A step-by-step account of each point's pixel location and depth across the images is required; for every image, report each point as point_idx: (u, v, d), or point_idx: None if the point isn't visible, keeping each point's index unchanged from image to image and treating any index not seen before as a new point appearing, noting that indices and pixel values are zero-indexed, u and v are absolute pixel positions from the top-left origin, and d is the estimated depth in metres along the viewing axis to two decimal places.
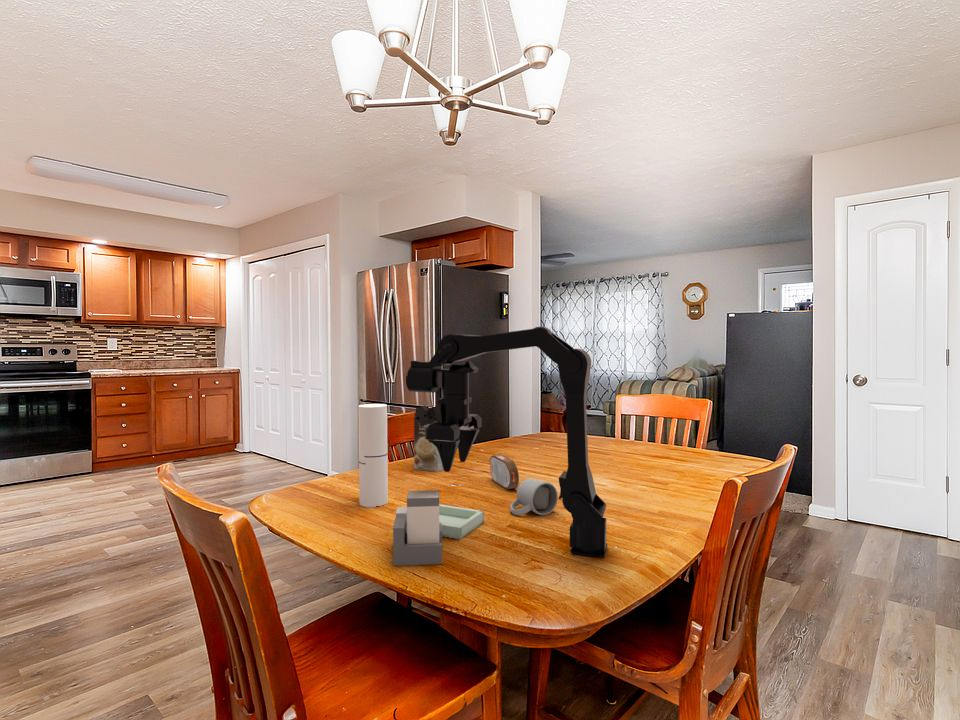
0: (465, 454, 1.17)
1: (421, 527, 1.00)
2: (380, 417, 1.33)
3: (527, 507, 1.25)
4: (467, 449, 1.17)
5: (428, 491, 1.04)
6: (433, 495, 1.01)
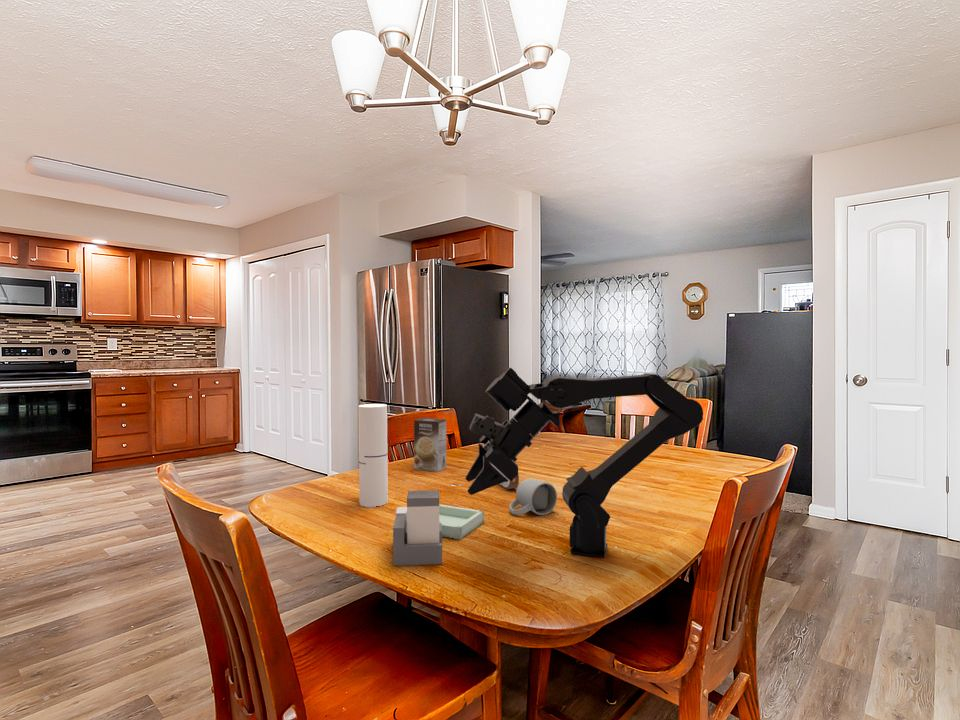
0: (475, 476, 1.08)
1: (421, 527, 1.00)
2: (380, 417, 1.33)
3: (526, 507, 1.25)
4: None
5: (428, 491, 1.04)
6: (433, 495, 1.01)
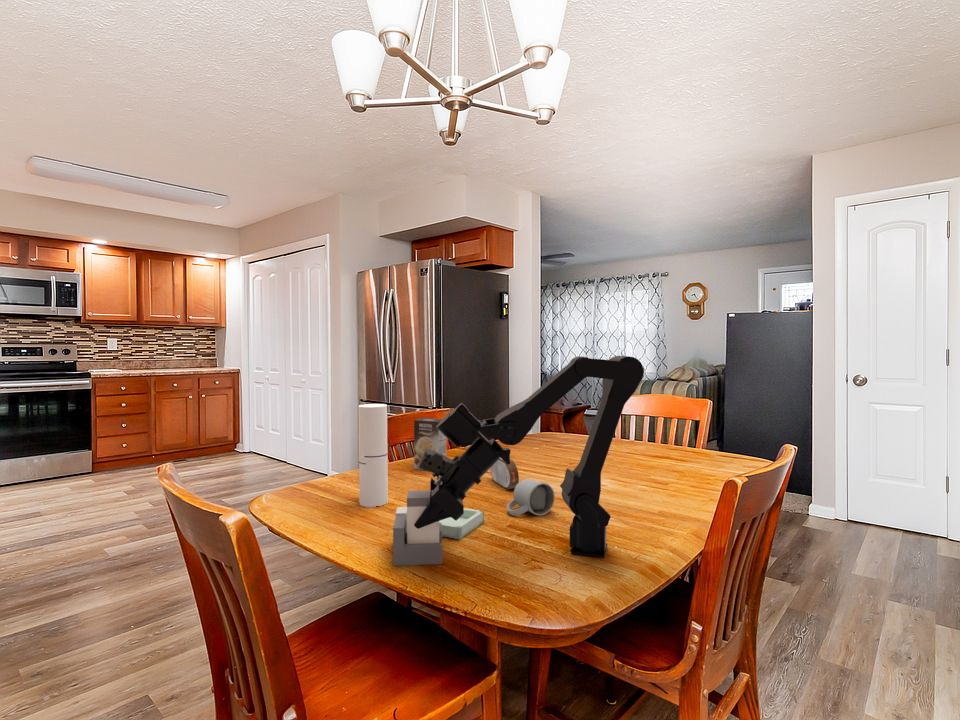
0: None
1: None
2: (380, 417, 1.33)
3: (524, 508, 1.25)
4: None
5: (428, 491, 1.04)
6: None
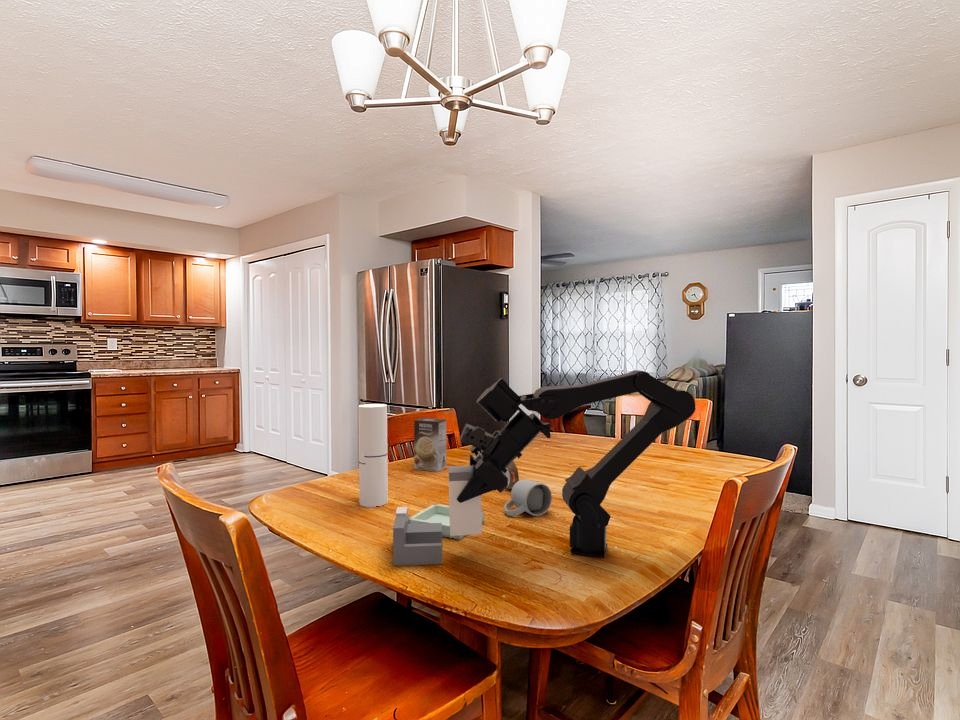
0: None
1: None
2: (380, 417, 1.33)
3: (521, 508, 1.25)
4: None
5: (468, 466, 1.04)
6: None
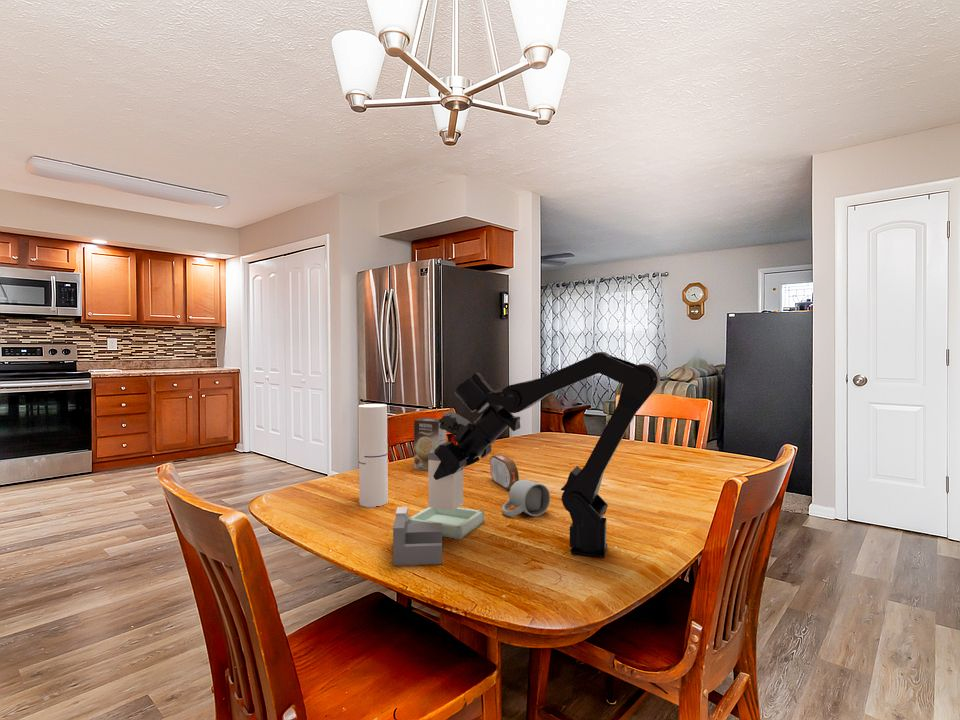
0: None
1: None
2: (380, 417, 1.33)
3: (519, 508, 1.24)
4: None
5: None
6: None
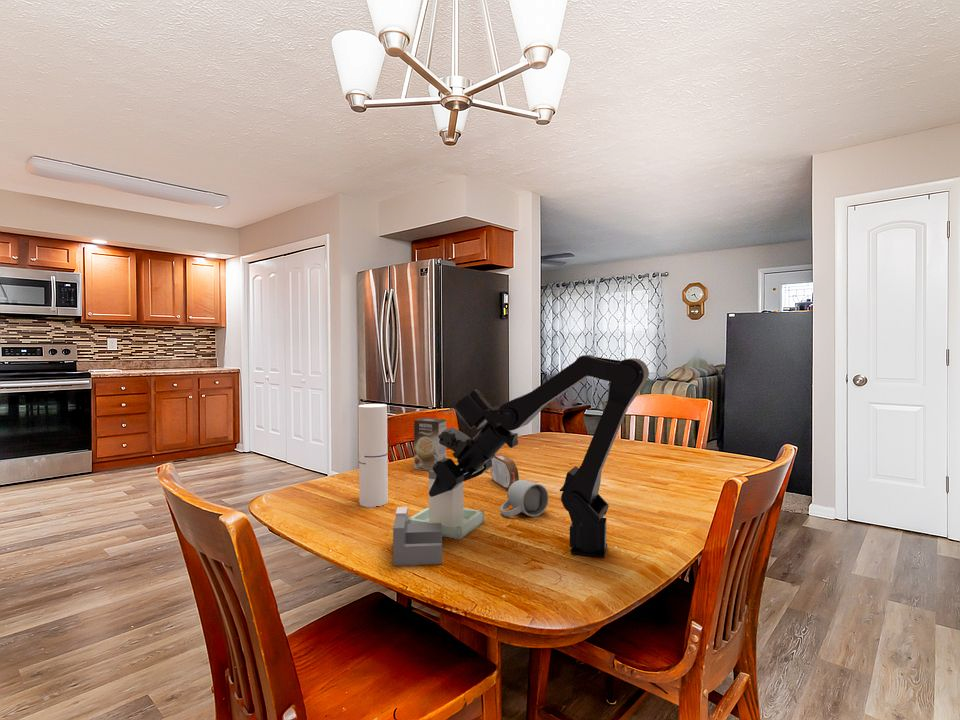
0: None
1: (439, 497, 1.17)
2: (380, 417, 1.33)
3: (517, 509, 1.24)
4: None
5: None
6: None
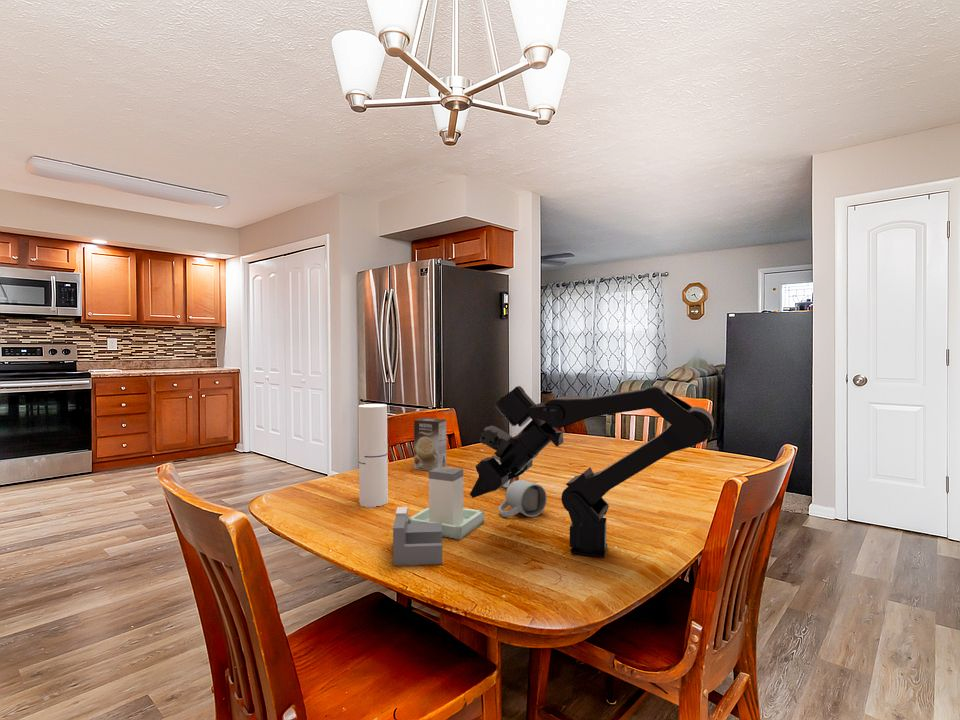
0: None
1: (439, 497, 1.17)
2: (380, 417, 1.33)
3: (516, 509, 1.24)
4: None
5: (453, 468, 1.20)
6: (450, 472, 1.17)
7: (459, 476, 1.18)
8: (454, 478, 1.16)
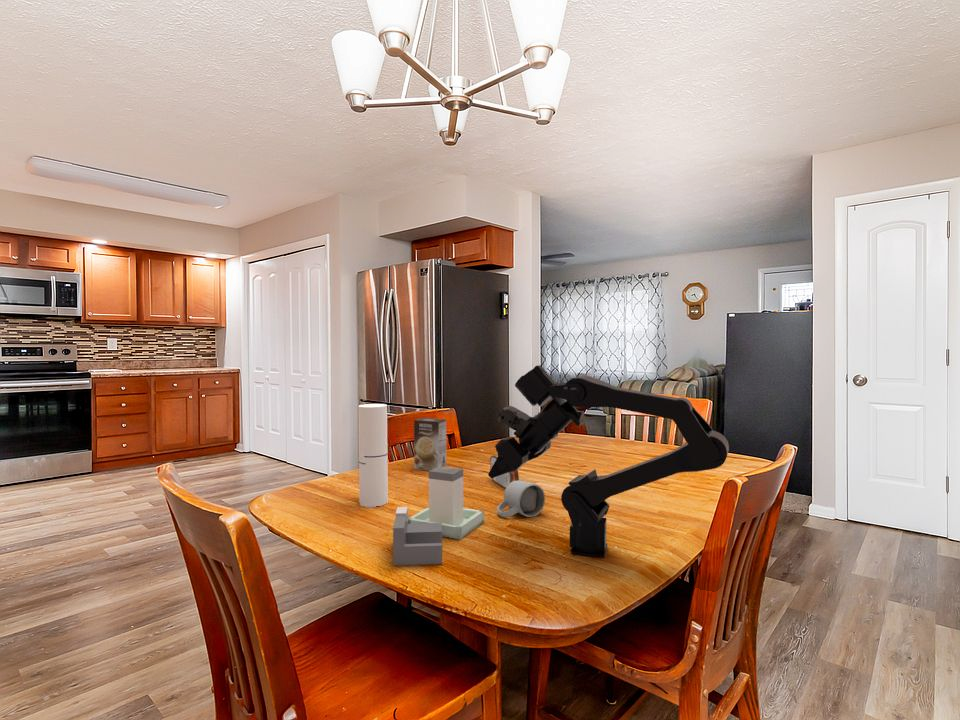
0: None
1: (439, 497, 1.17)
2: (380, 417, 1.33)
3: (514, 509, 1.24)
4: None
5: (453, 468, 1.20)
6: (450, 472, 1.17)
7: (459, 476, 1.18)
8: (454, 478, 1.16)
